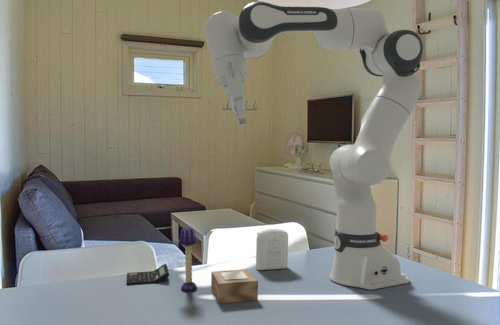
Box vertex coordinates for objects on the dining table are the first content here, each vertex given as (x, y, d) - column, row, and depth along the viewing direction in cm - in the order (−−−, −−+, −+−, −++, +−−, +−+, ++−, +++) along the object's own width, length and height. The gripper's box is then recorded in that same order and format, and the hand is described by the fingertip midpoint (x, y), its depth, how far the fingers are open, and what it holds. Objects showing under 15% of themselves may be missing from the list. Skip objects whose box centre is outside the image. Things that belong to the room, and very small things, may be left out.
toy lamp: (193, 293, 118) (193, 230, 117) (176, 291, 119) (176, 229, 118) (199, 287, 123) (199, 226, 122) (182, 285, 124) (182, 225, 122)
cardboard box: (247, 287, 123) (247, 268, 123) (257, 300, 113) (257, 279, 113) (211, 290, 120) (211, 270, 120) (218, 303, 111) (218, 282, 110)
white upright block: (284, 265, 144) (285, 227, 143) (289, 269, 140) (290, 229, 139) (254, 267, 141) (254, 228, 140) (258, 271, 137) (258, 231, 136)
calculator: (127, 275, 133) (127, 265, 133) (167, 273, 136) (167, 263, 135) (126, 286, 124) (126, 275, 123) (169, 283, 127) (169, 272, 126)
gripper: (241, 55, 110) (254, 109, 108) (242, 80, 130) (254, 126, 129) (216, 61, 110) (229, 115, 108) (221, 85, 130) (232, 131, 128)
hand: (243, 121), depth 118 cm, fingers open, 8 cm apart
